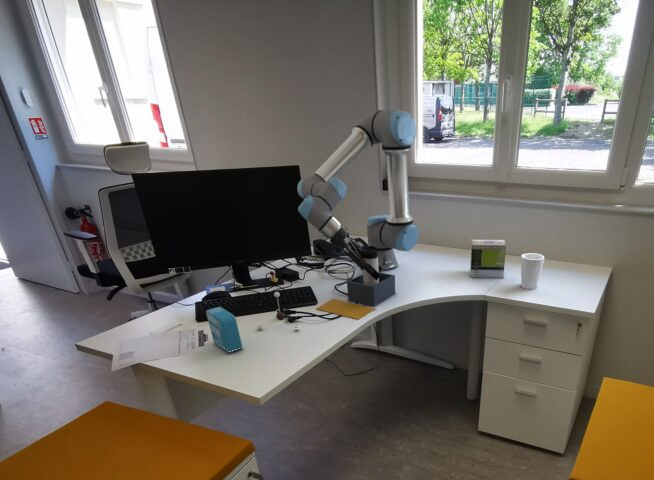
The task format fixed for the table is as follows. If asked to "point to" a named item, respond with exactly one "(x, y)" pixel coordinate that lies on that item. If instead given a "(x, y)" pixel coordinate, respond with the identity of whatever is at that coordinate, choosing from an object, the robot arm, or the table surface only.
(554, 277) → the table surface
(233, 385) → the table surface
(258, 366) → the table surface
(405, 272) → the table surface
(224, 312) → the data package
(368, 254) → the travel mug
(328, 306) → the desk mat
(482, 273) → the tea box
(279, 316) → the molecular model
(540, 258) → the foam cup
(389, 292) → the bin
